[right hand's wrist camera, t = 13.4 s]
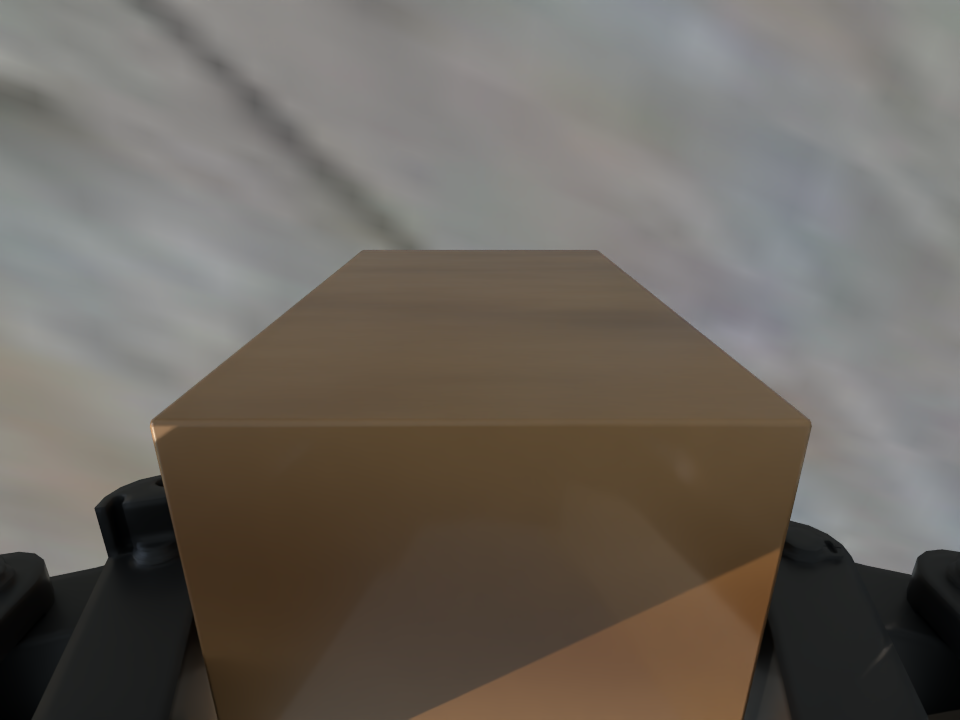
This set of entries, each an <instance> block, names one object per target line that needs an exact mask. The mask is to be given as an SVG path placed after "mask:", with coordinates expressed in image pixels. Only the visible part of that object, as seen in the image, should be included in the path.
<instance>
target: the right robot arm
mask: <svg viewBox="0 0 960 720" xmlns="http://www.w3.org/2000/svg"><path fill="white" fill-rule="evenodd" d="M95 512H96V515H97V519H98V522H99V526H100V529H101V533H102V536H103V540H104V543H105V547H106V550H107V554H108V560H107V562H106V564H105V565H104V566H100V567H97V568H92V569H87V570H82V571H77V572H73V573H68V574H63V575H58V576H53V577H49V574H48V571H47V568H46V565H45V562H44V560H43V559H42V558H41V557H39V556H38V555H36V554H35V553H25V552H15V553H8V554H1V555H0V720H218V719H217V715H216V711H215V706H214V702H213V698H212V693H211V689H210V685H209V680H208V676H207V672H206V667H205V663H204V659H203V654H202V650H201V646H200V641H199V637H198V633H197V628H196V624H195V620H194V615H193V611H192V607H191V602H190V598H189V594H188V589H187V585H186V581H185V576H184V572H183V568H182V563H181V559H180V555H179V550H178V546H177V541H176V537H175V533H174V528H173V524H172V520H171V515H170V511H169V507H168V502H167V498H166V494H165V489H164V485H163V481H162V476H161V475H159V476H154V477H150V478H146V479H141V480H138V481H135V482H133V483H130V484H128V485H125V486H123V487H120V488H119V489H117V490H115V491H114V492H112V493H111V494H109V495H107V496H106V497H104V498H103V499H102V501H101V502H100V503H99V504H98V505H97V506H96V507H95ZM744 720H960V552H956V551H949V550H932V551H926V552H924V553H923V554H922V555H920V556H919V557H918V558H917V561H916V563H915V566H914V569H913V572H912V575H910V574H905V573H900V572H895V571H890V570H885V569H880V568H875V567H870V566H866V565H862V564H858V563H854V561H853V559H852V557H851V555H850V554H849V553H848V551H847V550H846V549H845V548H844V546H843V545H842V544H841V543H839V542H838V541H836V540H835V539H834V538H832V537H831V536H829V535H828V534H826V533H824V532H822V531H820V530H818V529H815V528H813V527H811V526H809V525H805V524H801V523H797V522H793V521H790V522H789V526H788V531H787V535H786V539H785V543H784V548H783V552H782V556H781V561H780V565H779V569H778V574H777V578H776V582H775V587H774V591H773V595H772V599H771V604H770V608H769V612H768V617H767V621H766V625H765V630H764V634H763V638H762V643H761V647H760V651H759V656H758V660H757V664H756V668H755V673H754V677H753V681H752V686H751V690H750V694H749V699H748V703H747V707H746V712H745V716H744Z"/></svg>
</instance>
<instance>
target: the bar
mask: <svg viewBox="0 0 960 720" xmlns="http://www.w3.org/2000/svg"><path fill="white" fill-rule="evenodd" d="M811 427H812V426H811V421H810V419H808V418H807V417H806V416H805V415H803V414H802V413H801V412H800V411H798V410H797V409H796V408H795V407H793V406H792V405H791V404H790V403H788V402H787V401H786V400H784V399H783V398H782V397H781V396H779V395H778V394H777V393H776V392H774V391H773V390H772V389H771V388H769V387H768V386H767V385H766V384H764V383H763V382H762V381H761V380H759V379H758V378H757V377H756V376H754V375H753V374H752V373H751V372H749V371H748V370H747V369H746V368H744V367H743V366H742V365H741V364H739V363H738V362H737V361H736V360H734V359H733V358H732V357H731V356H729V355H728V354H727V353H726V352H724V351H723V350H722V349H721V348H719V347H718V346H717V345H716V344H714V343H713V342H712V341H711V340H709V339H708V338H707V337H706V336H704V335H703V334H702V333H701V332H699V331H698V330H697V329H696V328H694V327H693V326H692V325H691V324H689V323H688V322H687V321H686V320H684V319H683V318H682V317H681V316H679V315H678V314H677V313H676V312H674V311H673V310H672V309H671V308H669V307H668V306H667V305H666V304H664V303H663V302H662V301H661V300H659V299H658V298H657V297H656V296H654V295H653V294H652V293H650V292H649V291H648V290H647V289H645V288H644V287H643V286H642V285H640V284H639V283H638V282H637V281H635V280H634V279H633V278H632V277H630V276H629V275H628V274H627V273H625V272H624V271H623V270H622V269H620V268H619V267H618V266H617V265H615V264H614V263H613V262H612V261H610V260H609V259H608V258H607V257H605V256H604V255H603V254H602V253H600V252H599V251H597V250H363V251H361V252H360V253H359V254H357V255H356V256H355V257H354V258H352V259H351V260H350V261H349V262H347V263H346V264H345V265H344V266H342V267H341V268H340V269H339V270H337V271H336V272H335V273H334V274H332V275H331V276H330V277H329V278H327V279H326V280H325V281H324V282H323V283H321V284H320V285H319V286H318V287H316V288H315V289H314V290H313V291H311V292H310V293H309V294H308V295H306V296H305V297H304V298H303V299H301V300H300V301H299V302H298V303H296V304H295V305H294V306H293V307H291V308H290V309H289V310H288V311H286V312H285V313H284V314H283V315H281V316H280V317H279V318H278V319H277V320H275V321H274V322H273V323H272V324H270V325H269V326H268V327H267V328H265V329H264V330H263V331H262V332H260V333H259V334H258V335H257V336H255V337H254V338H253V339H252V340H250V341H249V342H248V343H247V344H245V345H244V346H243V347H242V348H240V349H239V350H238V351H237V352H235V353H234V354H233V355H232V356H231V357H229V358H228V359H227V360H226V361H224V362H223V363H222V364H221V365H219V366H218V367H217V368H216V369H214V370H213V371H212V372H211V373H209V374H208V375H207V376H206V377H204V378H203V379H202V380H201V381H199V382H198V383H197V384H196V385H194V386H193V387H192V388H191V389H189V390H188V391H187V392H186V393H185V394H183V395H182V396H181V397H180V398H178V399H177V400H176V401H175V402H173V403H172V404H171V405H170V406H168V407H167V408H166V409H165V410H163V411H162V412H161V413H160V414H158V415H157V416H156V417H155V418H153V419H152V421H151V423H150V429H151V433H152V437H153V442H154V446H155V450H156V455H157V459H158V463H159V468H160V472H161V476H162V481H163V485H164V489H165V494H166V498H167V502H168V507H169V511H170V515H171V520H172V524H173V528H174V533H175V537H176V541H177V546H178V550H179V555H180V559H181V563H182V568H183V572H184V576H185V581H186V585H187V589H188V594H189V598H190V602H191V607H192V611H193V615H194V620H195V624H196V628H197V633H198V637H199V641H200V646H201V650H202V654H203V659H204V663H205V667H206V672H207V676H208V680H209V685H210V689H211V693H212V698H213V702H214V706H215V711H216V715H217V719H218V720H744V716H745V712H746V707H747V703H748V699H749V694H750V690H751V686H752V681H753V677H754V673H755V668H756V664H757V660H758V656H759V651H760V647H761V643H762V638H763V634H764V630H765V625H766V621H767V617H768V612H769V608H770V604H771V599H772V595H773V591H774V587H775V582H776V578H777V574H778V569H779V565H780V561H781V556H782V552H783V548H784V543H785V539H786V535H787V531H788V526H789V522H790V518H791V513H792V509H793V505H794V500H795V496H796V492H797V487H798V483H799V479H800V474H801V470H802V466H803V462H804V457H805V453H806V449H807V444H808V440H809V436H810V431H811Z"/></svg>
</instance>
